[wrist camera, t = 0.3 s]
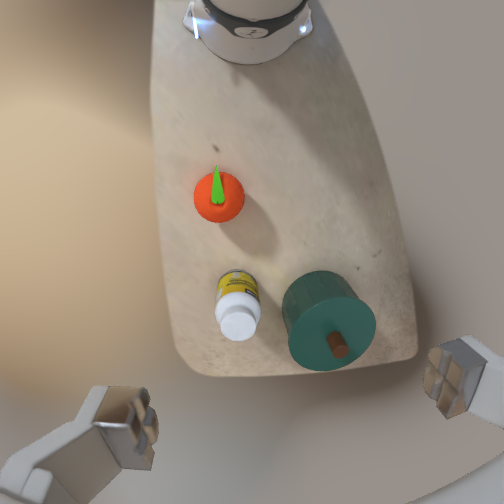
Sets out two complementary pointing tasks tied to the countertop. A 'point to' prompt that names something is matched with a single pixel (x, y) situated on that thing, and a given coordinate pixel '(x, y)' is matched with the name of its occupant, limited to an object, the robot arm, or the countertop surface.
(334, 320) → the lid
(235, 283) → the pill bottle
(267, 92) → the countertop surface
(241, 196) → the clementine
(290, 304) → the tin
